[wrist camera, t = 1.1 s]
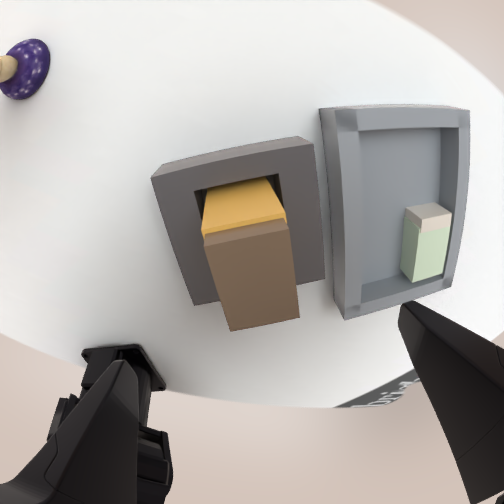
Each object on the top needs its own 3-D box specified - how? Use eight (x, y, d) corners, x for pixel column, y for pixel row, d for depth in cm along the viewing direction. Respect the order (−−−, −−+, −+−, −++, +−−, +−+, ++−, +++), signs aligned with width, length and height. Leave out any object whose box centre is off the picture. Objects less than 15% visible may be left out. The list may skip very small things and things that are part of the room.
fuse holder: (311, 254, 20) (325, 278, 17) (197, 277, 20) (194, 305, 17) (298, 136, 16) (313, 143, 13) (162, 164, 16) (150, 177, 13)
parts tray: (435, 270, 22) (450, 286, 20) (333, 299, 22) (344, 320, 20) (446, 105, 15) (469, 110, 13) (319, 108, 15) (334, 110, 13)
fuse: (428, 259, 21) (442, 273, 19) (399, 268, 21) (412, 283, 19) (435, 201, 18) (452, 212, 16) (404, 207, 18) (420, 219, 16)
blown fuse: (275, 244, 18) (302, 320, 12) (225, 254, 18) (229, 335, 12) (264, 173, 16) (291, 222, 10) (207, 185, 16) (199, 242, 10)
